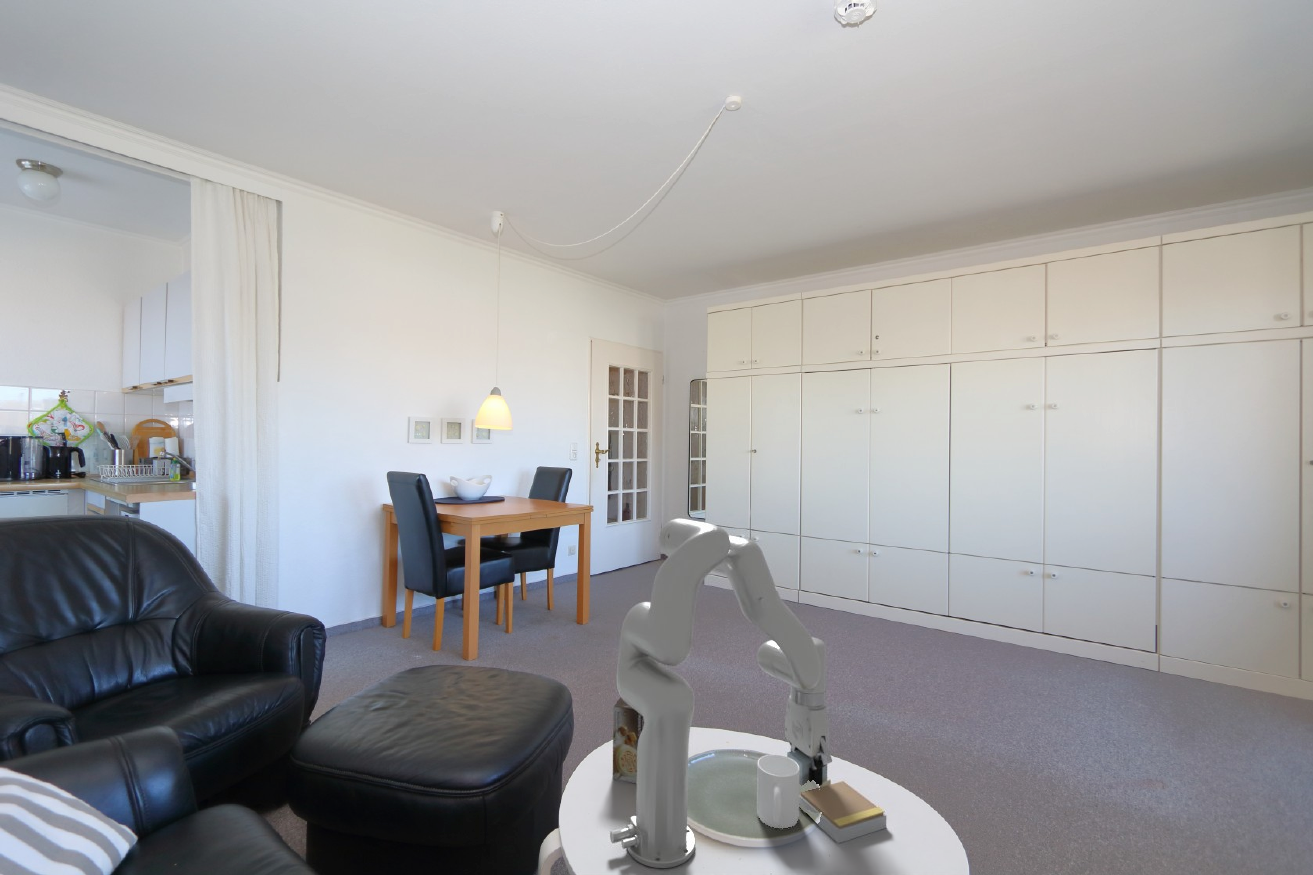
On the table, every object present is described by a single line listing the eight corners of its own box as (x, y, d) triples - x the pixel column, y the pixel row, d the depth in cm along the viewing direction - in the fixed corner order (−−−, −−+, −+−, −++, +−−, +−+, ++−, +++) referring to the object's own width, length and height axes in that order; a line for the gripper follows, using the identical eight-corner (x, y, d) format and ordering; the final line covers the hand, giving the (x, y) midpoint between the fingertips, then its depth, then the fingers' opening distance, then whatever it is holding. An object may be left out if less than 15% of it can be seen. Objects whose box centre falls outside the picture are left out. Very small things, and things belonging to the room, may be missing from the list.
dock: (838, 843, 107) (838, 825, 107) (797, 806, 118) (798, 790, 118) (886, 827, 112) (886, 811, 112) (843, 793, 123) (843, 778, 123)
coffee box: (658, 771, 130) (660, 700, 130) (650, 787, 124) (651, 712, 124) (620, 764, 133) (622, 694, 133) (610, 779, 127) (612, 705, 127)
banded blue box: (798, 794, 122) (798, 764, 122) (783, 782, 127) (783, 752, 127) (830, 785, 126) (831, 755, 126) (815, 773, 131) (815, 744, 131)
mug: (799, 846, 106) (799, 790, 106) (753, 838, 108) (754, 783, 108) (798, 808, 118) (799, 757, 118) (757, 801, 120) (758, 751, 120)
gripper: (771, 683, 133) (770, 762, 133) (819, 714, 118) (818, 804, 117) (797, 678, 136) (796, 756, 136) (848, 708, 121) (847, 796, 120)
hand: (806, 777), depth 126 cm, fingers closed on banded blue box, 5 cm apart
